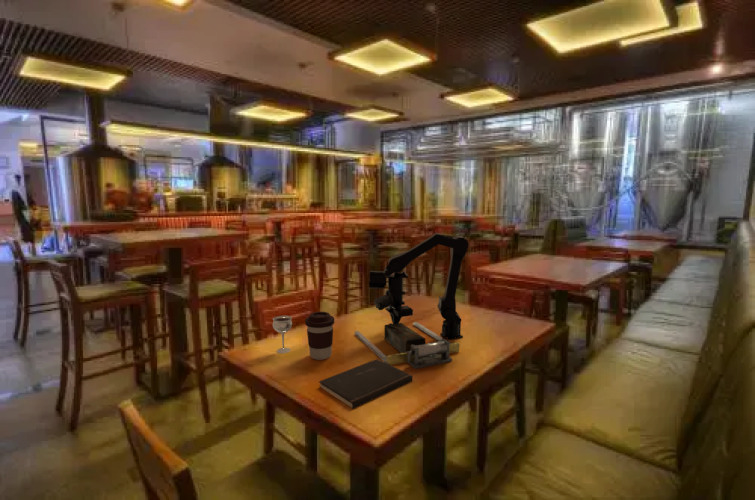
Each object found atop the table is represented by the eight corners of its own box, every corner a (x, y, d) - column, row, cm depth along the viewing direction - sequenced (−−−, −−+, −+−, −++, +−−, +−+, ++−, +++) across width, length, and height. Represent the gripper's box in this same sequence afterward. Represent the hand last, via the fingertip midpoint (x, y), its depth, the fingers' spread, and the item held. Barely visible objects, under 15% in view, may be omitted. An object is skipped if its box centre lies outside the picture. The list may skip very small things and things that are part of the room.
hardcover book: (318, 388, 116) (318, 381, 116) (377, 365, 131) (377, 358, 131) (352, 411, 104) (352, 402, 104) (412, 382, 119) (412, 375, 119)
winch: (443, 355, 137) (443, 337, 136) (451, 361, 133) (452, 342, 132) (403, 363, 131) (403, 345, 130) (410, 369, 126) (411, 350, 125)
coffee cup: (339, 352, 140) (339, 311, 138) (327, 363, 131) (326, 320, 129) (314, 348, 143) (313, 308, 141) (301, 359, 134) (299, 317, 132)
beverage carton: (402, 336, 155) (402, 320, 154) (426, 355, 138) (426, 337, 137) (383, 339, 152) (383, 323, 151) (406, 359, 135) (406, 340, 134)
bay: (416, 324, 169) (416, 317, 168) (459, 351, 140) (459, 343, 140) (354, 334, 158) (354, 327, 157) (387, 365, 129) (387, 357, 129)
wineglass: (269, 352, 140) (268, 320, 138) (280, 345, 146) (279, 314, 144) (286, 355, 138) (285, 322, 136) (296, 348, 144) (295, 316, 142)
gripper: (367, 285, 158) (367, 322, 161) (386, 296, 141) (386, 338, 144) (392, 282, 162) (392, 318, 165) (414, 293, 145) (413, 334, 148)
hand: (395, 327), depth 155 cm, fingers closed
